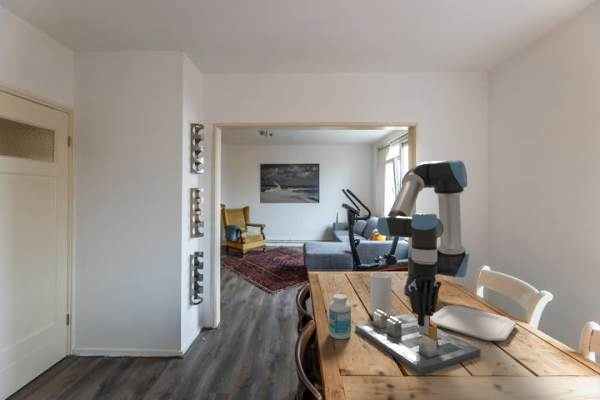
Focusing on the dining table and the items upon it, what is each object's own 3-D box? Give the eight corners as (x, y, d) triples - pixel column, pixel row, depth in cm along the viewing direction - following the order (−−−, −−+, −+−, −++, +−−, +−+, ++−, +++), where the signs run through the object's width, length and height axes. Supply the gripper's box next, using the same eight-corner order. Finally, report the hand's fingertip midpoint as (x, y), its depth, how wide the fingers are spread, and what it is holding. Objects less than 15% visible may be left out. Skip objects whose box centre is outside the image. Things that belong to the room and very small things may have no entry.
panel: (406, 318, 117) (406, 300, 117) (480, 355, 90) (480, 331, 90) (355, 330, 108) (355, 310, 107) (420, 375, 80) (420, 348, 80)
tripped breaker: (428, 333, 99) (428, 319, 99) (437, 338, 96) (437, 323, 96) (421, 335, 98) (421, 320, 98) (430, 340, 95) (430, 325, 95)
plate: (448, 308, 130) (448, 303, 130) (518, 325, 112) (518, 319, 112) (424, 325, 112) (424, 319, 112) (502, 349, 95) (502, 342, 94)
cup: (392, 319, 117) (392, 278, 117) (370, 317, 119) (370, 276, 119) (390, 311, 125) (390, 272, 125) (370, 309, 127) (370, 271, 127)
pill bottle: (327, 330, 107) (327, 292, 107) (347, 330, 108) (347, 292, 108) (331, 340, 100) (331, 300, 100) (353, 339, 100) (353, 299, 100)
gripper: (429, 257, 102) (429, 327, 102) (399, 261, 97) (399, 334, 97) (448, 262, 95) (448, 336, 95) (417, 265, 90) (417, 344, 90)
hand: (423, 335), depth 96 cm, fingers closed
